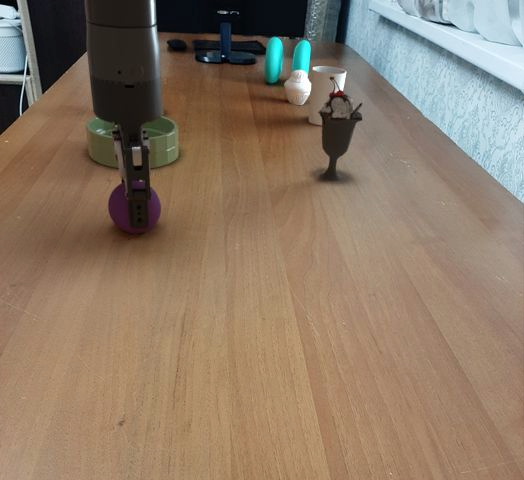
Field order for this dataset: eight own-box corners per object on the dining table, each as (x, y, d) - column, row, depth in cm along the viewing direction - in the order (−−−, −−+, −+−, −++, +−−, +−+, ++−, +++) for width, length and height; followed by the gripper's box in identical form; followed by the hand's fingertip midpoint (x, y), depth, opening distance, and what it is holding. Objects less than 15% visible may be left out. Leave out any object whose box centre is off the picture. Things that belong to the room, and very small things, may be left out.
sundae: (302, 172, 93) (314, 72, 84) (339, 170, 95) (354, 72, 86) (319, 188, 88) (334, 84, 79) (358, 185, 90) (376, 83, 81)
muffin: (279, 104, 125) (282, 69, 120) (287, 98, 129) (290, 64, 125) (306, 108, 123) (310, 73, 119) (313, 102, 128) (317, 68, 124)
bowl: (124, 179, 85) (121, 145, 82) (72, 152, 93) (68, 120, 90) (196, 160, 94) (196, 129, 91) (143, 136, 101) (141, 107, 98)
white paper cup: (334, 130, 112) (342, 75, 106) (302, 125, 114) (308, 70, 108) (341, 122, 117) (349, 69, 111) (310, 116, 119) (317, 64, 113)
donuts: (303, 91, 135) (308, 44, 129) (262, 86, 136) (265, 39, 130) (307, 82, 143) (312, 37, 137) (268, 77, 144) (271, 33, 138)
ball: (130, 247, 69) (126, 197, 65) (100, 229, 72) (94, 180, 68) (172, 232, 73) (170, 184, 69) (141, 215, 76) (138, 168, 72)
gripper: (85, 55, 65) (100, 192, 75) (93, 87, 54) (109, 242, 64) (151, 56, 67) (157, 189, 77) (171, 87, 56) (175, 237, 66)
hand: (135, 213), depth 71 cm, fingers open, 7 cm apart
